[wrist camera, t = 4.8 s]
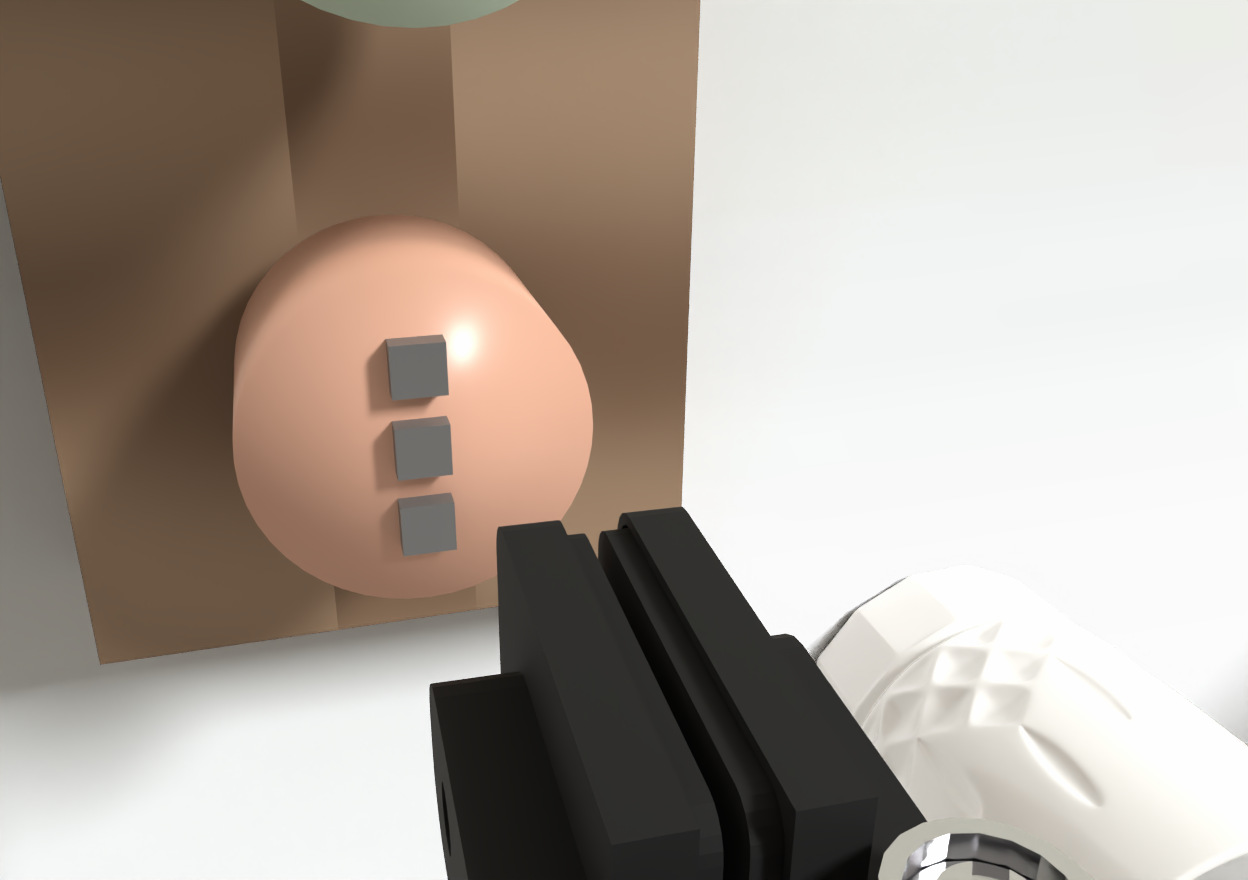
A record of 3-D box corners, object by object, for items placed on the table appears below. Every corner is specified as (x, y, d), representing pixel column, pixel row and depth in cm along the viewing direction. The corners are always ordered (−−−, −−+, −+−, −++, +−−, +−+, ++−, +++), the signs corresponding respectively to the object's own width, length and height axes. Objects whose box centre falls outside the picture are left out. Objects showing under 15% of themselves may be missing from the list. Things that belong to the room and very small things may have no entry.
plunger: (218, 177, 19) (208, 290, 13) (497, 165, 20) (600, 264, 14) (252, 435, 21) (255, 634, 15) (505, 410, 22) (598, 584, 16)
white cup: (715, 704, 27) (941, 1078, 18) (969, 477, 27) (1325, 750, 18) (886, 856, 31) (1140, 1226, 22) (1110, 660, 30) (1461, 959, 22)
